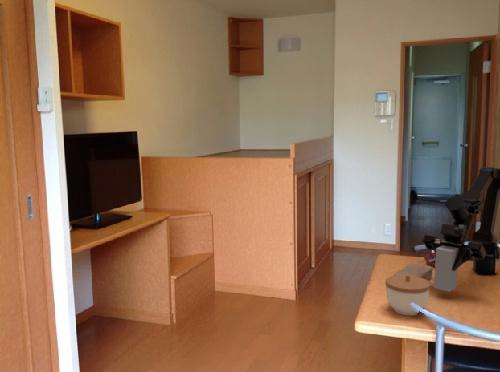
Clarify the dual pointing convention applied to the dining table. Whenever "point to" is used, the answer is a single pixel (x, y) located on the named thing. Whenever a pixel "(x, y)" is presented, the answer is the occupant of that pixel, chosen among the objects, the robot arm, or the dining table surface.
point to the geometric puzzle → (430, 258)
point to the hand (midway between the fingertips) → (444, 268)
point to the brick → (416, 271)
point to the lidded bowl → (407, 293)
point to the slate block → (445, 268)
